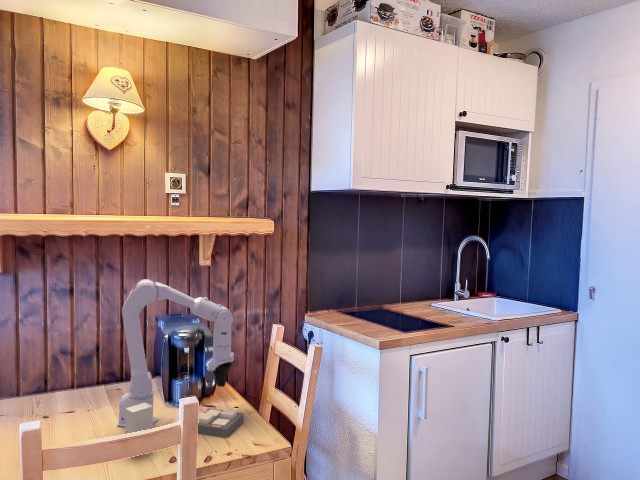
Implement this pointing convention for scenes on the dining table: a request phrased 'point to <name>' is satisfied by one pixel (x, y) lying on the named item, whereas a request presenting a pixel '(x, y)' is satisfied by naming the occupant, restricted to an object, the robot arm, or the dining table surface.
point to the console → (220, 430)
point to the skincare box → (138, 418)
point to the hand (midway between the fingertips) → (221, 385)
